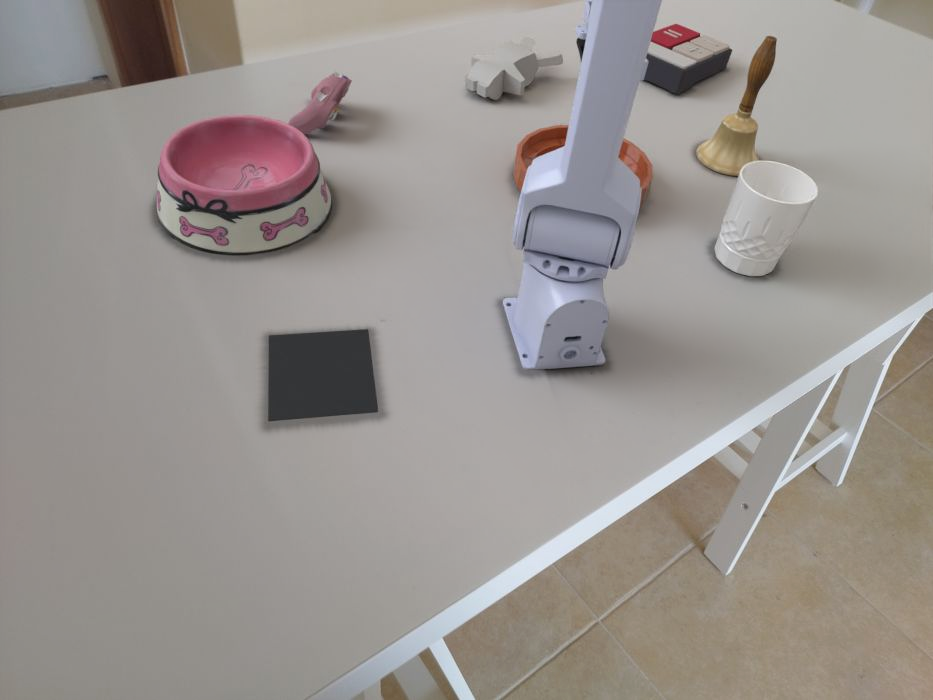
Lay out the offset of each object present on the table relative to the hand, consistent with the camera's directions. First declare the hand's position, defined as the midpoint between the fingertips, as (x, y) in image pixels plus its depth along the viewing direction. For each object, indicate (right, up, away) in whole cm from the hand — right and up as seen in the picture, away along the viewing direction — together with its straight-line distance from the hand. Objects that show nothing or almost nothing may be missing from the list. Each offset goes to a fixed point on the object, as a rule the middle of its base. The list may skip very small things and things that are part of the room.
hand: (595, 113), depth 81 cm
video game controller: (-33, +3, +14) cm, 36 cm away
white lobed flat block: (-8, +12, +26) cm, 30 cm away
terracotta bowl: (-1, -6, +9) cm, 10 cm away
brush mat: (-27, -28, -16) cm, 42 cm away
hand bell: (+20, -1, +16) cm, 26 cm away
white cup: (+17, -16, +1) cm, 23 cm away
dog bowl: (-38, -10, 0) cm, 40 cm away
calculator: (+18, +19, +32) cm, 42 cm away
